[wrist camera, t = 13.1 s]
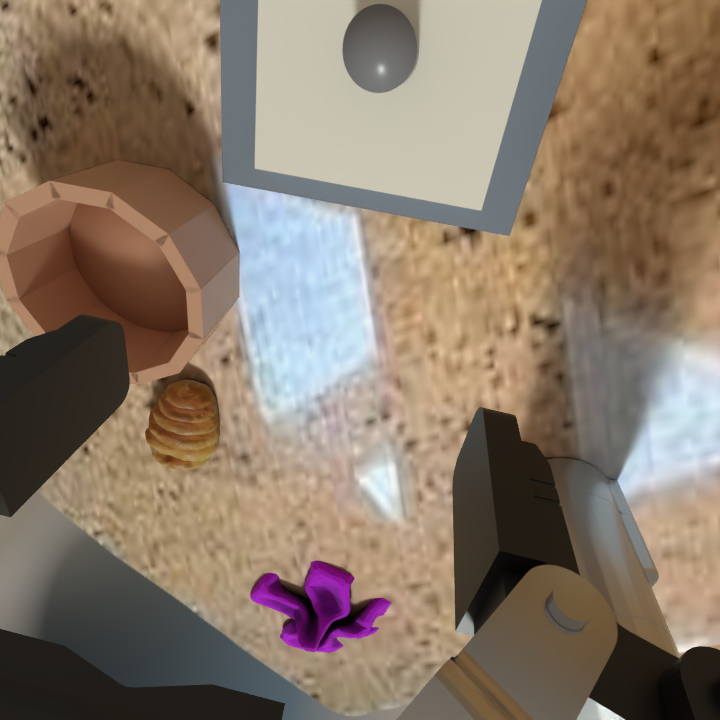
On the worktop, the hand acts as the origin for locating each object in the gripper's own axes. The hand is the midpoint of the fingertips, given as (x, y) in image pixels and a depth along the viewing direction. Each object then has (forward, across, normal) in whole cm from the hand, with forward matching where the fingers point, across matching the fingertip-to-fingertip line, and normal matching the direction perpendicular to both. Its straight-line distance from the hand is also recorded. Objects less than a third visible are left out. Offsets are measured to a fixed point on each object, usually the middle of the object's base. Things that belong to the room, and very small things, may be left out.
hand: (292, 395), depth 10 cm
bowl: (+24, +17, +9) cm, 31 cm away
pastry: (+25, +15, +26) cm, 39 cm away
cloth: (+26, -3, +53) cm, 59 cm away
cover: (+24, +2, -7) cm, 25 cm away
